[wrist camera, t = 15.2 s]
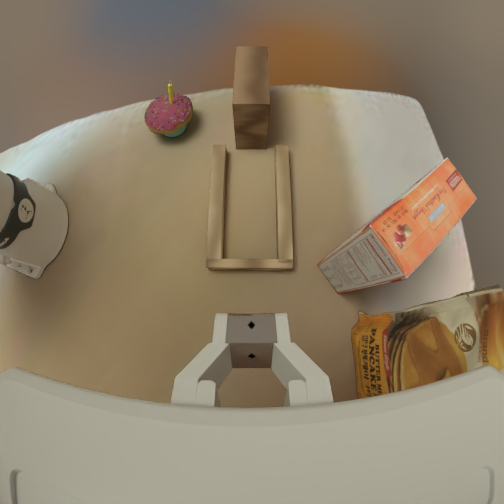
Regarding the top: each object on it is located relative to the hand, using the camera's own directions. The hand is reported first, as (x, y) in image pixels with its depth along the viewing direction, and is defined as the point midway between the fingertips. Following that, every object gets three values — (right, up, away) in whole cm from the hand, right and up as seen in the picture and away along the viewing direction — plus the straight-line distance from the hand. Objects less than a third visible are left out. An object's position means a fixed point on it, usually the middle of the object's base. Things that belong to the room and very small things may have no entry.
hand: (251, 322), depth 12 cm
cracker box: (+17, +3, +30) cm, 35 cm away
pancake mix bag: (+19, -14, +27) cm, 35 cm away
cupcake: (-14, +26, +34) cm, 45 cm away
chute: (0, +10, +31) cm, 33 cm away
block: (0, +27, +35) cm, 44 cm away
